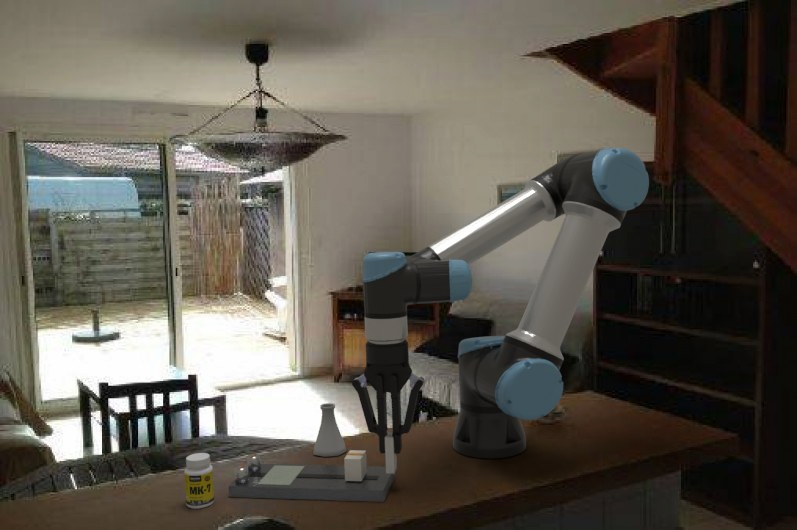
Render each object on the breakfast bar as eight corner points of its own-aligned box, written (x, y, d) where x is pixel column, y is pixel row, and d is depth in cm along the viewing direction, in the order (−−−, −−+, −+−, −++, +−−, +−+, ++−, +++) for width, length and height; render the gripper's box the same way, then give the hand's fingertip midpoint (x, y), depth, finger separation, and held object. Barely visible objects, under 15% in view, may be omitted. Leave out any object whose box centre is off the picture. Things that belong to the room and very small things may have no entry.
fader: (366, 471, 126) (365, 449, 125) (361, 481, 121) (360, 458, 121) (350, 471, 126) (349, 449, 126) (345, 480, 122) (344, 457, 121)
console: (394, 477, 128) (393, 453, 128) (383, 502, 117) (382, 475, 117) (252, 473, 133) (250, 450, 133) (229, 496, 122) (227, 471, 122)
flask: (341, 458, 139) (339, 410, 139) (307, 457, 141) (305, 409, 140) (351, 446, 146) (349, 400, 146) (318, 445, 148) (316, 400, 147)
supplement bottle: (187, 511, 117) (184, 463, 116) (184, 501, 121) (181, 454, 120) (216, 505, 119) (213, 458, 118) (212, 495, 123) (209, 450, 122)
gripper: (426, 335, 123) (430, 463, 125) (355, 336, 125) (360, 462, 127) (420, 343, 116) (425, 479, 118) (345, 344, 118) (351, 477, 120)
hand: (391, 470), depth 122 cm, fingers closed
